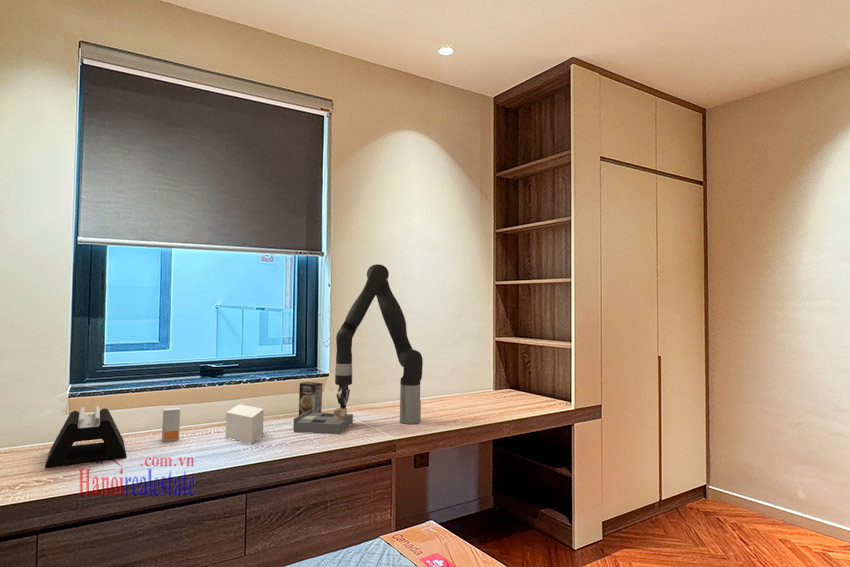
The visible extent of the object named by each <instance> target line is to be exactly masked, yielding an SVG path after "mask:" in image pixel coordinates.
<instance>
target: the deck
mask: <svg viewBox="0 0 850 567" xmlns="http://www.w3.org/2000/svg"><path fill="white" fill-rule="evenodd" d="M353 422H354V414H353V413H347V418H346V419H344V420H334V412H322V413H313V412H312V409H310V410H308V411H306V412H305V413H303V414H301V415H299V414H298V415H297V416H296V417H294V418H293V427H292V429H293V431H294V432H293V433H304V432H313V433H312V434H325V433H337V434H336V435H341V434H342V433H343V432H344V431H346V429H348V428H349V427H350V426H351V425H352V424H353ZM350 424H351V425H350ZM349 425H350V426H349ZM348 426H349V427H348ZM347 427H348V428H347ZM343 430H344V431H343ZM342 431H343V432H342ZM341 432H342V433H341ZM340 433H341V434H340Z"/></svg>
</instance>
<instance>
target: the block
mask: <svg viewBox="0 0 850 567" xmlns="http://www.w3.org/2000/svg"><path fill="white" fill-rule="evenodd" d="M333 413H334V420H344V419H346V418H347V414H348V408H347V407H346V408H340V407H336V408H335V409H334V410H333Z"/></svg>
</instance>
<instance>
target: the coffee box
mask: <svg viewBox="0 0 850 567" xmlns="http://www.w3.org/2000/svg"><path fill="white" fill-rule="evenodd" d="M298 392H299V398H298V416H299V415H301V414H303V413H305V412H306V411H308V410H310V409H312V412H313V413H323V410H322V409H323V408H322V407H323V406H322V404H323V382H311V381H305V382H304V381H303V382H300V383H299V391H298Z"/></svg>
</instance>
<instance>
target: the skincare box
mask: <svg viewBox="0 0 850 567" xmlns="http://www.w3.org/2000/svg"><path fill="white" fill-rule="evenodd" d="M180 419H181V408H180V407H169V408H168V407H167V408H163V409H162V431H161V441H162V442H169V441H170V442H171V441H179V440H180V426H181V425H180V421H181V420H180Z"/></svg>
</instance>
